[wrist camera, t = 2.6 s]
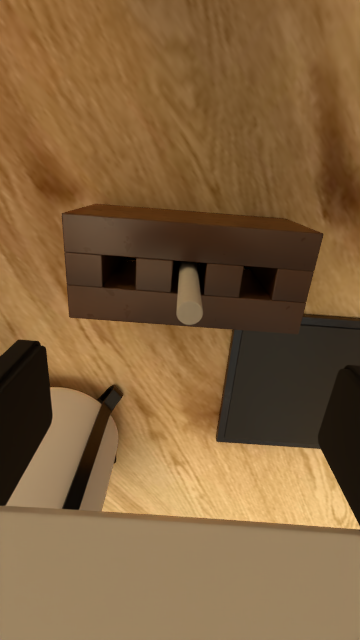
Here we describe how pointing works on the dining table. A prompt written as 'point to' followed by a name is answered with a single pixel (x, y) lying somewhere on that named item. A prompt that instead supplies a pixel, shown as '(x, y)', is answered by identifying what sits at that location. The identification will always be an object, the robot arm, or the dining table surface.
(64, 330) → the dining table surface
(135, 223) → the pen block
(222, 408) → the tablet
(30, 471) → the coffee press
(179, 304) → the rod
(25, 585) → the robot arm
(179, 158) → the dining table surface
